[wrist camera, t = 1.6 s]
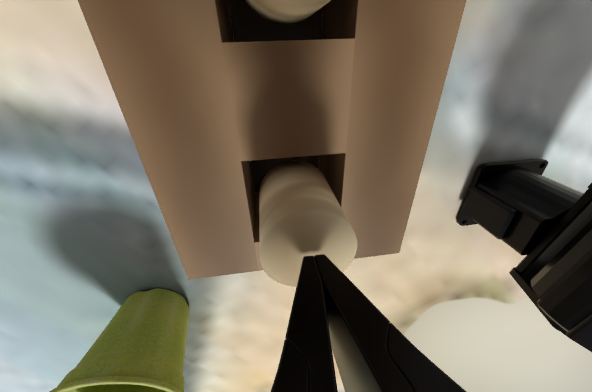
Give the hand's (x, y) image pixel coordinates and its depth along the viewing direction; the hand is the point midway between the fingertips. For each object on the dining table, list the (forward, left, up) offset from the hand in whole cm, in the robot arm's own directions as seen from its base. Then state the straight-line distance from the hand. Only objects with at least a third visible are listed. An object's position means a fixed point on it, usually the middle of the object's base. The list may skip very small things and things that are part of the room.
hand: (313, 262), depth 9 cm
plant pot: (+14, +15, -11) cm, 23 cm away
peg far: (0, 0, -6) cm, 7 cm away
